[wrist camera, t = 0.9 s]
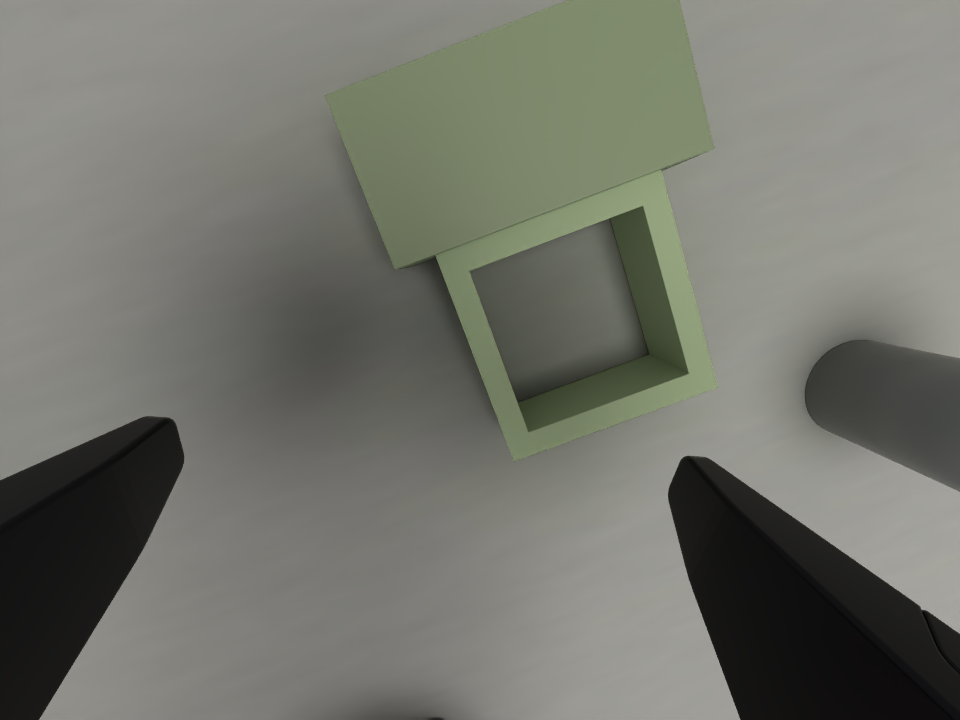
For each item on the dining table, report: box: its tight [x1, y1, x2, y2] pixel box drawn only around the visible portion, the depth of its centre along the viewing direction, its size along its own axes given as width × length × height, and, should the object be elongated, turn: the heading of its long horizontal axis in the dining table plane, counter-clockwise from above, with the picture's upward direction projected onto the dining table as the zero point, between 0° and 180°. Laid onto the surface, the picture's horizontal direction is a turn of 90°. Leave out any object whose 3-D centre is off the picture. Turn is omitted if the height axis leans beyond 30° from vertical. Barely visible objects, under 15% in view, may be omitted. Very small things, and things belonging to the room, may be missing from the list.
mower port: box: [325, 0, 718, 461], centre depth 19 cm, size 15×12×5 cm
